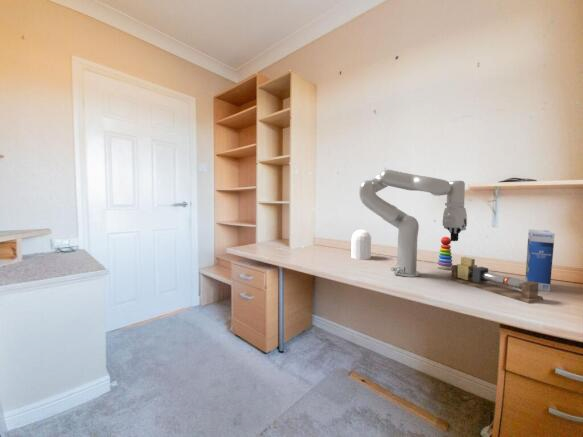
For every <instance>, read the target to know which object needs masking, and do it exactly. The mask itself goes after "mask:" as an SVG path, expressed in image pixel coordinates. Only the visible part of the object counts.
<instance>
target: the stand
mask: <svg viewBox="0 0 583 437" xmlns="http://www.w3.org/2000/svg"><path fill="white" fill-rule="evenodd" d="M457 273H458V264H452V269H451V276H446V280H449V281H452V282H453V281H454V282H456V283H459V284H463V285H466V286H470V287H474V288H476V289H480V290H483V291H487V292H491V293H493V294H497V295H500V296H503V297H506V298H510V299H514V300H517V301H520V302H523V303H527V304H530V303H534V302H538V301H541V300H543V299H544V298H543V296H540V295H539V290H538V283H537V282H533V281H528V282H524V283H522V290H520V289H516V288H513V287H509V286H505V285H501V284H500V285H499V284H498V283H494V282H490V281H487V282H481V283H478V282H474V281H472V280H465V279H461V278H458V277H457Z"/></svg>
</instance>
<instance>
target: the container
mask: <svg viewBox="0 0 583 437" xmlns="http://www.w3.org/2000/svg"><path fill="white" fill-rule="evenodd" d="M350 241H351V244H350V245H351V250H350V254H351V255H350V257H351V259H353V258H354V260H361V261H362V260H367V261H368V260H370V259H371V258H372V256H371V255H372V236H371V234H370V232H369V231H367V230H366V229H356V231H354V232H353V233H352V235H351V240H350Z"/></svg>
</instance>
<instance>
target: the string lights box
mask: <svg viewBox="0 0 583 437" xmlns="http://www.w3.org/2000/svg"><path fill="white" fill-rule="evenodd" d="M555 235H556V234H555V233H553V232H552V231H550V230H548V229H547V230H546V229H528V235H527V247H526V250H527V251H526V263H525V264H526V265H525V278H524V281H526V282H528V281H533V282H537V283H538V291H542V292H543V291H544V292H549V293H550V292H551V282H552V268H553V257H554V247H555V246H554V244H555Z"/></svg>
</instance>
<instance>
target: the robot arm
mask: <svg viewBox="0 0 583 437" xmlns="http://www.w3.org/2000/svg"><path fill="white" fill-rule="evenodd" d="M465 186H466V182H465V181H464V180H450V181H448V180H446V179H442V178H436V177H431V176H425V175H419V174H413V173H408V172H402V171H398V170H392V169H385V170H382V171H381V172H380V173H379V174H378V175H376V176H374V177H373V178H370V179H367V180H366V179H365V180H364V181H363V182H361V184H360V185H359V198H360V199H359V200H360V201H361V203H362V204H363V205H364V206H365V207H366V208H367V209H368V210H370V211H372V213H374V214H376V215H377V216H378V217H380V218H381V219H382V220H384V221H385V222H387V223H389V224H390V225H392V227H393V226H394V227H395V228H397V229H398V234H397V235H398V236H397V258H396V260H397V261H396V262H397V264H396V265H395V267H390V271H391V272H393V273H394V274H396V275H398V276H402V277H409V278H413V277H414V278H415V277H419V276H420V272H419V271H418V270H417V268H418V267H417V261H418V236H419V228H420V225H419V221H418V219H417V218H416V217H414V216H412V215H409V214H407V213H405V212H403V211H402V210H401V209H399V208H398V207H397V206H395V205H393V204H391V203H389V202H388V201H386V200H385V199H383V198H381V197H380V196H379V195H378V194H377V193H378V192H379V191H382V190H384V189H385V188H387V187H392V188H397V189H402V190H405V191H415V192H416V191H417V192H418V191H419V192H425V193H429V194H431V195H432V196H437V197H440V196H445V195H446V202H445V203H444V205H445V206H446V207H444V209H443V213H442V214H443V215H442V226H443V228H444V230H448V231H449V233H450V239H451V242H458V241H459V234H460V233H461V232H462V231H466V230H467V224H468V215H467V210H466V207H465V198H466V197H465V194H466V193H465V192H466V190H465V188H466V187H465Z"/></svg>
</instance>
